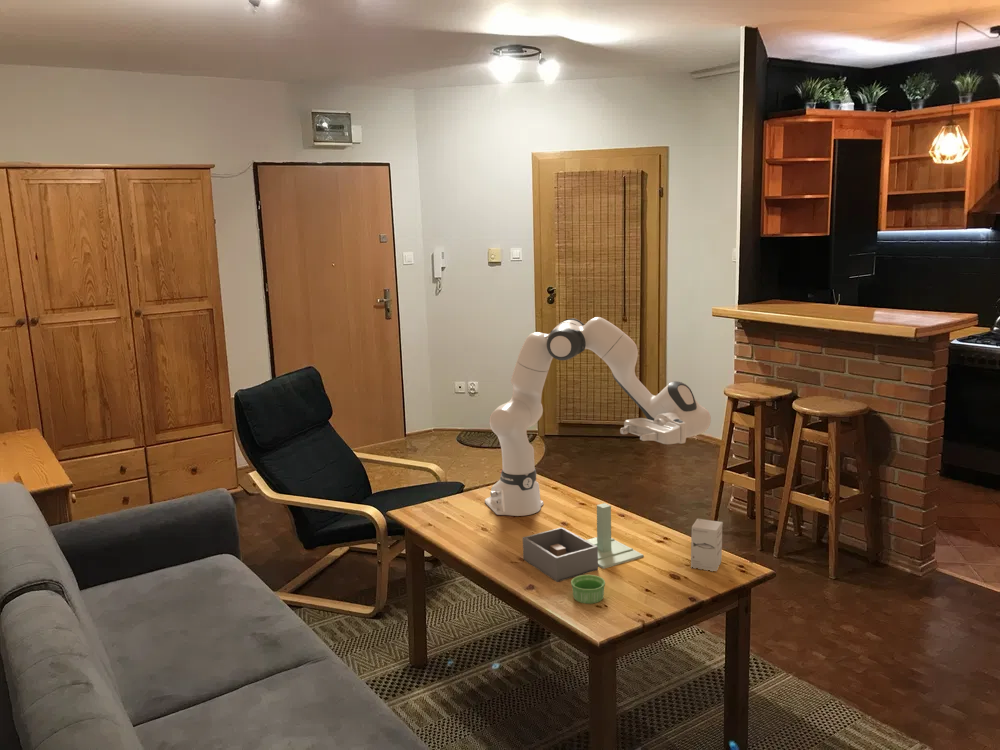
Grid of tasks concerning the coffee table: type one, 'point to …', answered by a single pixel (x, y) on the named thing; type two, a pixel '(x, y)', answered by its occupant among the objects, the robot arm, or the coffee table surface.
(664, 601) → the coffee table surface
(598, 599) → the ramekin
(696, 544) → the supplement box
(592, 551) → the tub
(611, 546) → the grooved base with post
